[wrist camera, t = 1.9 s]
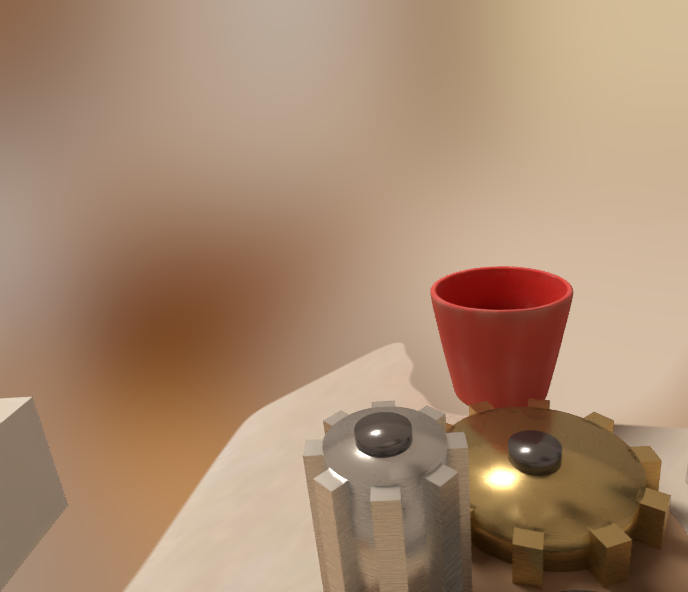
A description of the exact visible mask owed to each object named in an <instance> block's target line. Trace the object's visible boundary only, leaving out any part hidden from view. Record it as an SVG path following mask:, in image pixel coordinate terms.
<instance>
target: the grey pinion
mask: <svg viewBox="0 0 688 592" xmlns="http://www.w3.org/2000/svg"><path fill="white" fill-rule="evenodd" d="M323 423H324V431H325V437H324V439H322V440H306V444H305V449H304V453H303V460H304V466H305V473H306V479H307V486H308V493H309V499H310V506H311V512H312V519H313V525H314V532H315V538H316V545H317V551H318V558H319V564H320V571H321V577H322V584H323V590H324V592H472V559H471V524H470V489H469V454H468V445H467V441H466V437H465V434H464V432H454V433H446V416H445V413H442V412H440V411H438V410H435V409H433V408H431V407H428V406H425V407H424V408H422V409H421V410H419V411H416V410H413V409H409V408H403V407H395V401H382V402H372V408H369V409H365V410H361V411H358V412H355V413H352V414H350V415H348V414H346V413H345V412H343V411H339V412H338V413H336V414H334V415H332V416H331V417H329V418H327V419H325V420H324V421H323Z"/></svg>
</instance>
